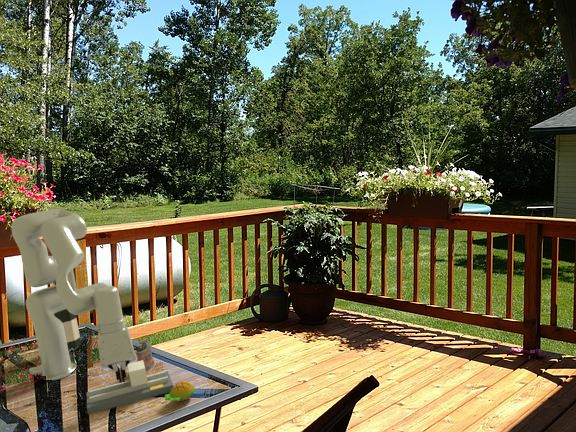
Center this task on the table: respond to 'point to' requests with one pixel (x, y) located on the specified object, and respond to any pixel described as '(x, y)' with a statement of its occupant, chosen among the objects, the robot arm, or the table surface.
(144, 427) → the table surface
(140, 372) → the fader knob
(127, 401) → the fader board
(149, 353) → the lighter
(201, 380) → the table surface
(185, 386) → the toy pineapple
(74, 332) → the wine bottle
